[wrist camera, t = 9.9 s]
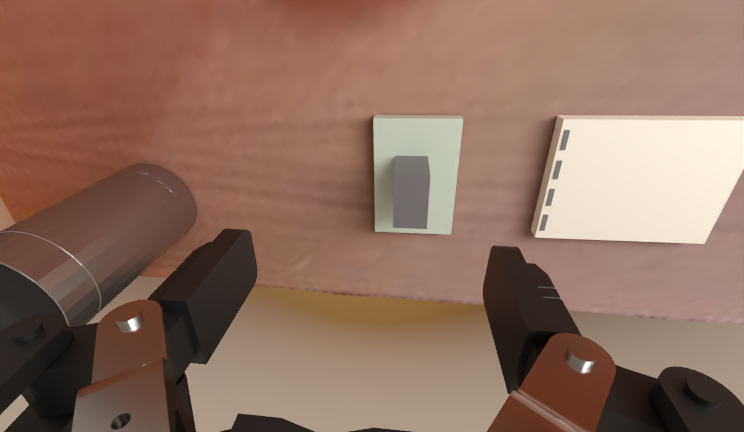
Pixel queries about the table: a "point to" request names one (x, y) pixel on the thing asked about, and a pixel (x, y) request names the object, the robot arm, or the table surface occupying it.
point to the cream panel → (638, 177)
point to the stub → (415, 172)
